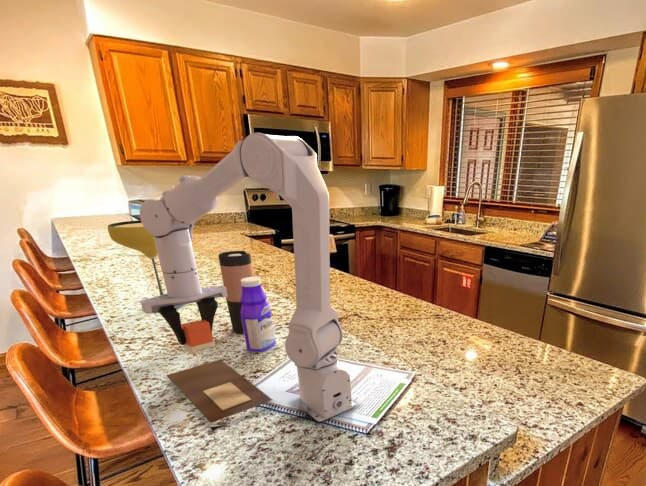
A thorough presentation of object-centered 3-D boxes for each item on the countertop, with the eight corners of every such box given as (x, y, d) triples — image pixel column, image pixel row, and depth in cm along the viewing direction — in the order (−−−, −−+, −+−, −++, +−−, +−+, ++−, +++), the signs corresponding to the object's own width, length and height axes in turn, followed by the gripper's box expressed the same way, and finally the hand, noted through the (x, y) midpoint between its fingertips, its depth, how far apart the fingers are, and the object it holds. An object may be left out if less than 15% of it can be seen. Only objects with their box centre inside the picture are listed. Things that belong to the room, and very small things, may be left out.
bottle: (265, 358, 97) (254, 283, 89) (243, 356, 98) (229, 282, 90) (280, 346, 103) (270, 275, 96) (259, 344, 104) (247, 274, 97)
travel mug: (228, 334, 111) (212, 256, 102) (237, 324, 117) (224, 250, 109) (257, 333, 111) (245, 256, 102) (265, 323, 118) (254, 250, 109)
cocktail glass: (134, 302, 137) (111, 221, 126) (196, 295, 144) (179, 218, 133) (128, 319, 122) (101, 229, 111) (197, 310, 129) (178, 224, 118)
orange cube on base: (215, 346, 82) (210, 322, 80) (191, 352, 79) (186, 328, 77) (200, 335, 87) (195, 312, 85) (177, 341, 84) (172, 317, 82)
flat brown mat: (273, 406, 77) (272, 398, 77) (212, 430, 71) (210, 421, 70) (221, 365, 93) (220, 358, 93) (167, 381, 87) (165, 374, 86)
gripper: (211, 260, 84) (224, 325, 90) (128, 272, 75) (148, 343, 81) (226, 266, 79) (238, 334, 85) (139, 279, 70) (159, 354, 76)
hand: (195, 339), depth 83 cm, fingers closed on orange cube on base, 4 cm apart
